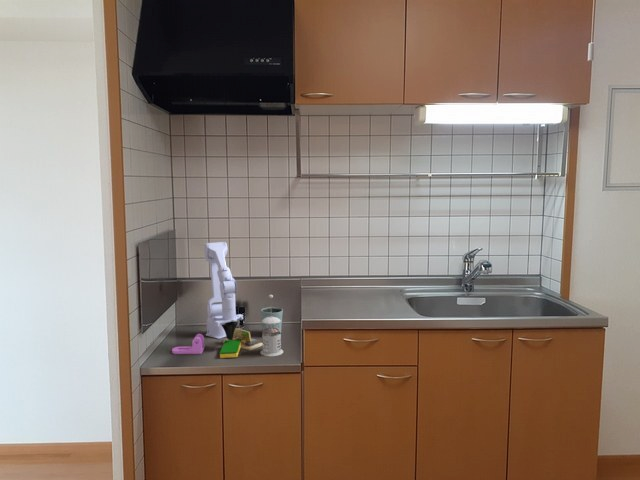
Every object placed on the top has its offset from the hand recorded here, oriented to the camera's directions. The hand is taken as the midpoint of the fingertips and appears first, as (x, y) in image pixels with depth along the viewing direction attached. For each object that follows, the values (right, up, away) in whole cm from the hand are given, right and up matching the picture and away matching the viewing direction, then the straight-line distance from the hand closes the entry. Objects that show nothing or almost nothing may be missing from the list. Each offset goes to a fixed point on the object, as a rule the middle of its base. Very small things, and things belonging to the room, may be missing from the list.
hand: (229, 338), depth 212 cm
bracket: (-18, -5, -3) cm, 19 cm away
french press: (+18, -5, -3) cm, 19 cm away
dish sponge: (+1, -5, -4) cm, 6 cm away
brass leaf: (+4, +1, +5) cm, 7 cm away
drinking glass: (+17, -2, +19) cm, 25 cm away
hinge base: (+4, -4, +7) cm, 9 cm away
